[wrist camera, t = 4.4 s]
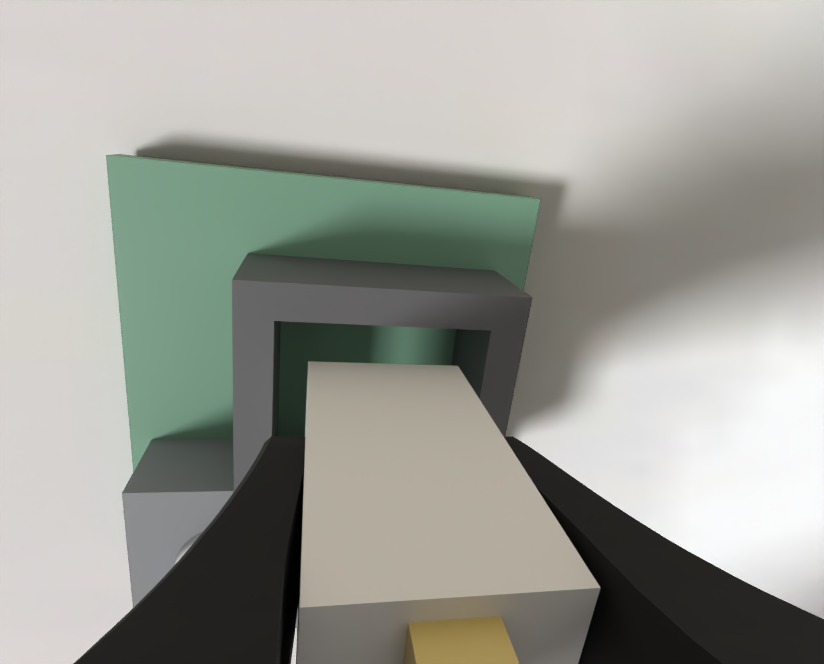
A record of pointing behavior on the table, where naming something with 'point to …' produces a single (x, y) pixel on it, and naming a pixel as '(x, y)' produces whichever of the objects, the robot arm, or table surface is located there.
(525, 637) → the plug
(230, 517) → the robot arm
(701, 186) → the table surface
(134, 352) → the board
